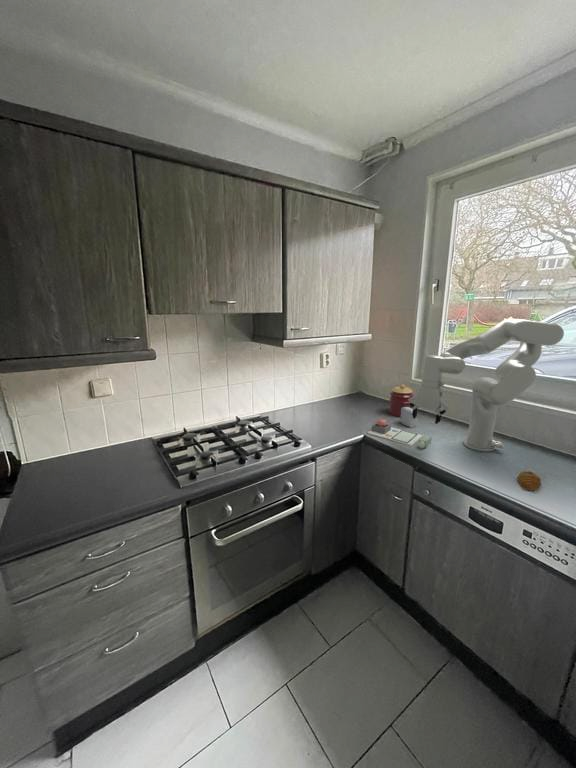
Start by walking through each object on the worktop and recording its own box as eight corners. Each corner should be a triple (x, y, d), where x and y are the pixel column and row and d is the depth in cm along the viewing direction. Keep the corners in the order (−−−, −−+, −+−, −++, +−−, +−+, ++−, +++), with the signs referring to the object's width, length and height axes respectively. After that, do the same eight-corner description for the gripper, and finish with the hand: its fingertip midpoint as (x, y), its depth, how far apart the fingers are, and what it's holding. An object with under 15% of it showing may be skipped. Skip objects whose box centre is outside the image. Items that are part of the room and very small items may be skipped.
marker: (431, 442, 148) (432, 436, 147) (424, 449, 141) (425, 442, 140) (424, 440, 150) (424, 434, 149) (416, 447, 143) (417, 440, 142)
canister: (383, 411, 189) (386, 383, 185) (400, 408, 194) (402, 380, 190) (399, 418, 178) (402, 388, 173) (416, 415, 183) (419, 385, 178)
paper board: (422, 436, 154) (422, 429, 154) (411, 446, 144) (412, 439, 143) (379, 425, 168) (380, 419, 167) (367, 433, 158) (367, 427, 157)
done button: (387, 426, 160) (387, 420, 159) (383, 428, 157) (384, 422, 156) (379, 423, 163) (379, 418, 162) (375, 426, 160) (375, 420, 159)
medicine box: (416, 426, 167) (418, 411, 164) (410, 427, 165) (411, 412, 163) (406, 421, 174) (407, 406, 172) (399, 422, 172) (401, 407, 170)
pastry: (541, 495, 108) (543, 485, 107) (517, 489, 111) (519, 479, 110) (539, 482, 115) (541, 473, 114) (516, 477, 119) (518, 468, 118)
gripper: (454, 385, 135) (448, 423, 140) (413, 378, 146) (409, 413, 150) (449, 389, 130) (443, 427, 134) (407, 381, 141) (403, 417, 145)
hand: (425, 420), depth 142 cm, fingers open, 9 cm apart
